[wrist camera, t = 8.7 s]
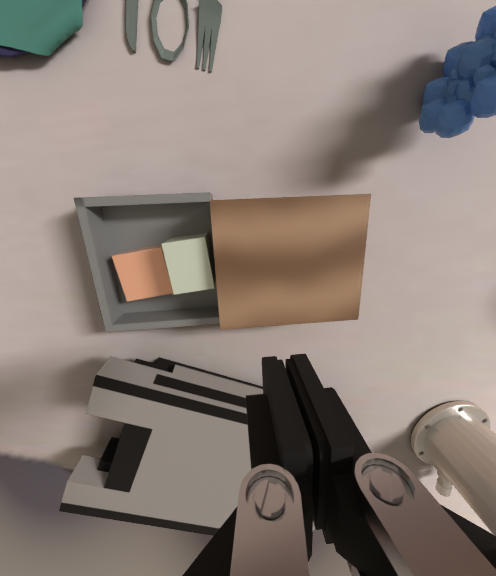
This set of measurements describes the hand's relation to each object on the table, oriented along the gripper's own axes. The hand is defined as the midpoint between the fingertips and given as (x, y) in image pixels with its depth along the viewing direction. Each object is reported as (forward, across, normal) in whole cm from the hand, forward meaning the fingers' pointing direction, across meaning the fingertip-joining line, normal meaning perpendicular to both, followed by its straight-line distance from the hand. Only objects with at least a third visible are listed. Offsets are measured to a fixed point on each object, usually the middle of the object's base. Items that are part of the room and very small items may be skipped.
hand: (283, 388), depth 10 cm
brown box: (+22, -4, -2) cm, 22 cm away
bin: (+21, +10, -2) cm, 23 cm away
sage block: (+18, +4, -2) cm, 19 cm away
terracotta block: (+18, +11, -1) cm, 21 cm away
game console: (+22, +6, +24) cm, 34 cm away
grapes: (+22, -21, -16) cm, 34 cm away
